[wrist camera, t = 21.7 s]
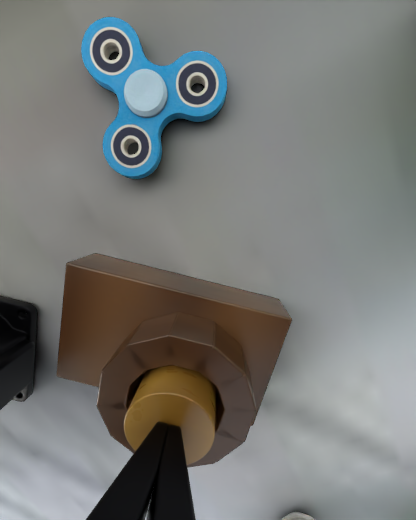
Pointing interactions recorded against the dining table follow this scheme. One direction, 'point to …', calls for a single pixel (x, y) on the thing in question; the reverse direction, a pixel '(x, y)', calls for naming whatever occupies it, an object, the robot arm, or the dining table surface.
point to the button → (174, 408)
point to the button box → (168, 340)
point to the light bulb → (297, 516)
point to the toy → (147, 93)
